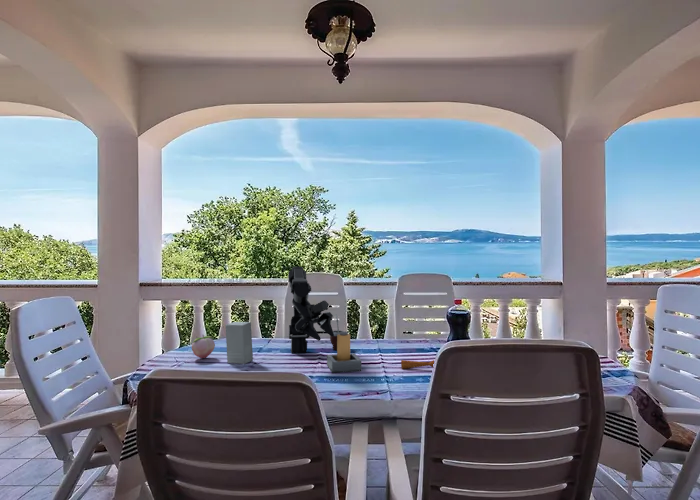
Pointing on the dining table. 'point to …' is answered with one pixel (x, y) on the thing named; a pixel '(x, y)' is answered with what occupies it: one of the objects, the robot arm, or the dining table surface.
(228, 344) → the skincare box
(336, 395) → the dining table surface
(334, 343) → the mate gourd
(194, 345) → the decorative fruit
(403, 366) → the kendama
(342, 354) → the tan cylinder
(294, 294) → the robot arm
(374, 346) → the dining table surface
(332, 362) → the gray square dish
